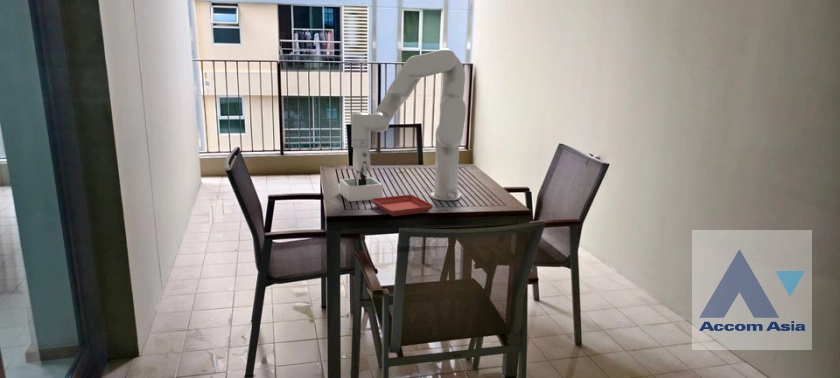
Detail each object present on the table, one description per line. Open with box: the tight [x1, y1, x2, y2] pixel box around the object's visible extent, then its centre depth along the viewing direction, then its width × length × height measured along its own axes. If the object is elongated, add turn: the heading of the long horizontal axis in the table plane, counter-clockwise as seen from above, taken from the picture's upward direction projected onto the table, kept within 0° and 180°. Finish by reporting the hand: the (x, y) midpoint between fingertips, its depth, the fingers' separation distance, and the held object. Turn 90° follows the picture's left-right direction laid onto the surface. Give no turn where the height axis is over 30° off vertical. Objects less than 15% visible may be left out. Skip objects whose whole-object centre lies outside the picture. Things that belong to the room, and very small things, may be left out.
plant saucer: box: [370, 194, 434, 217], centre depth 217 cm, size 18×18×3 cm
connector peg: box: [355, 172, 363, 186], centre depth 234 cm, size 4×4×8 cm
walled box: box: [339, 176, 383, 202], centre depth 235 cm, size 14×14×6 cm
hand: (360, 187), depth 235 cm, fingers closed on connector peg, 3 cm apart
